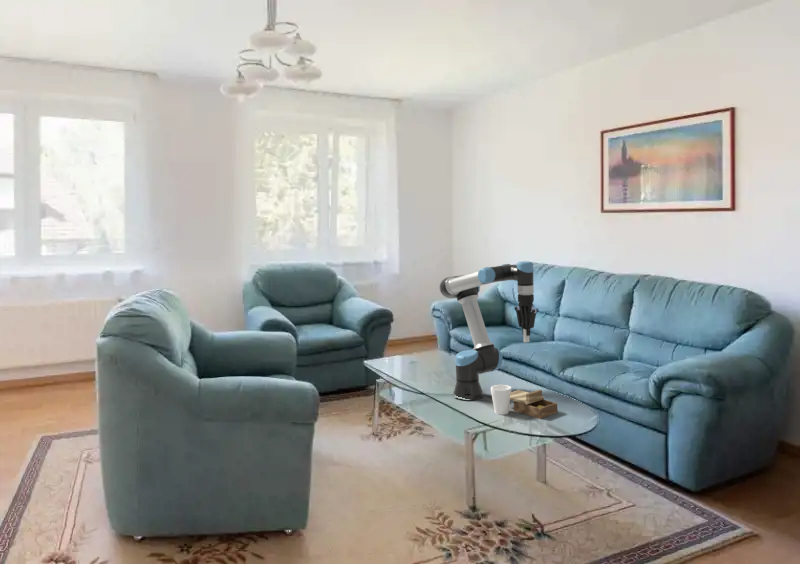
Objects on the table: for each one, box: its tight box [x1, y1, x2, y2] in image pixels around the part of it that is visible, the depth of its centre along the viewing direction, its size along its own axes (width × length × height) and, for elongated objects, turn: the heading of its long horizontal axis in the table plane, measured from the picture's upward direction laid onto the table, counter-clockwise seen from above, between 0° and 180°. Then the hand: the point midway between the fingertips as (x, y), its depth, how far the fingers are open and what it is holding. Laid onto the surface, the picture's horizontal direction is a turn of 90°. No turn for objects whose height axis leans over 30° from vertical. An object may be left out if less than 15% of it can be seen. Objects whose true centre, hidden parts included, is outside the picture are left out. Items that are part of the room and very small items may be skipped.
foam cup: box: [490, 384, 512, 416], centre depth 282 cm, size 10×9×13 cm
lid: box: [510, 389, 545, 405], centre depth 287 cm, size 16×12×4 cm
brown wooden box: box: [513, 398, 558, 420], centre depth 281 cm, size 16×12×6 cm
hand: (526, 341), depth 291 cm, fingers closed
